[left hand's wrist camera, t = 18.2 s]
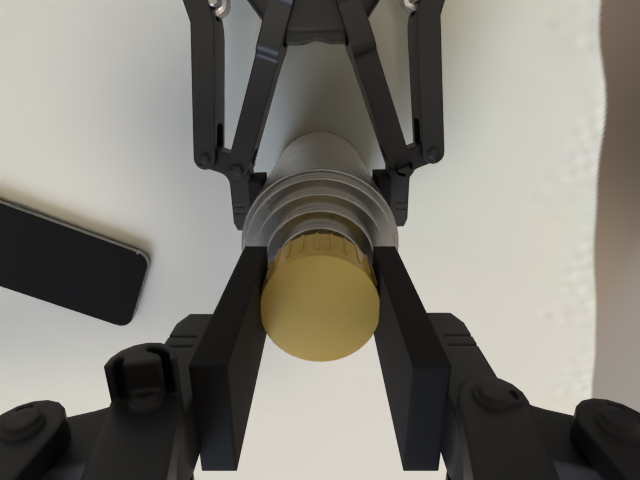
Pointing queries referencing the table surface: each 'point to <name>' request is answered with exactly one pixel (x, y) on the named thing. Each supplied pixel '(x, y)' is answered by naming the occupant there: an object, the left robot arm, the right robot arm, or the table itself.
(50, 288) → the smartphone
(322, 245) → the cap
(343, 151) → the bottle
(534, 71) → the table surface
